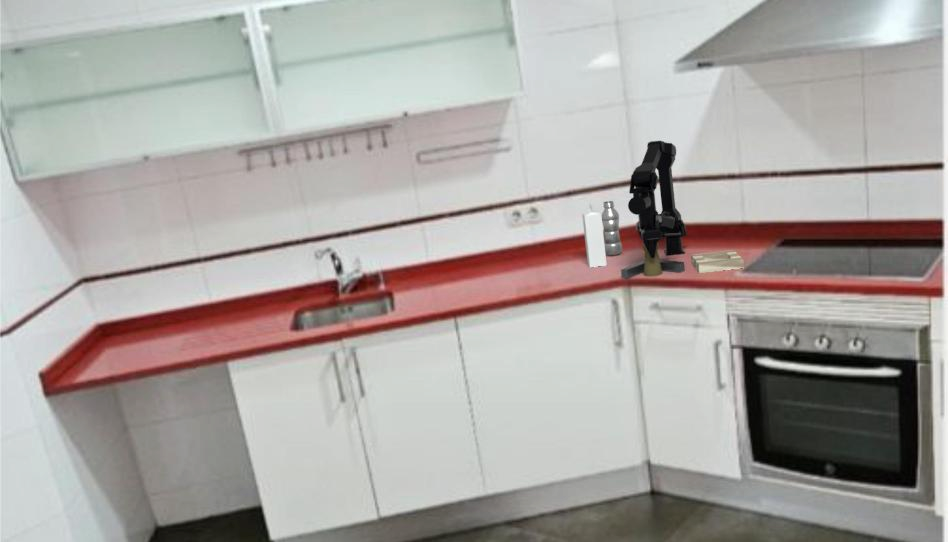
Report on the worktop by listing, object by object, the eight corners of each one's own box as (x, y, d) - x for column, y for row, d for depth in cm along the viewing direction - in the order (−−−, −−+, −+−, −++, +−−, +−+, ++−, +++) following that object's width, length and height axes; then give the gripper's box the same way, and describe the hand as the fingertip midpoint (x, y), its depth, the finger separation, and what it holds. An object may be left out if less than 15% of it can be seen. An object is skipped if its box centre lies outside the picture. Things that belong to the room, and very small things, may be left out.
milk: (590, 268, 287) (582, 207, 282) (587, 264, 293) (580, 204, 288) (607, 265, 287) (600, 204, 282) (604, 262, 293) (597, 202, 288)
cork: (661, 270, 270) (658, 238, 268) (663, 275, 265) (660, 242, 262) (642, 272, 271) (639, 240, 269) (644, 277, 265) (641, 244, 263)
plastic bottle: (609, 252, 306) (603, 200, 302) (625, 252, 302) (620, 200, 298) (601, 256, 301) (596, 204, 297) (618, 257, 297) (612, 203, 293)
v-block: (619, 270, 278) (618, 262, 277) (679, 263, 275) (679, 255, 275) (622, 279, 267) (621, 270, 266) (685, 272, 264) (684, 263, 264)
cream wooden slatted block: (691, 263, 274) (691, 254, 273) (734, 258, 272) (733, 249, 272) (699, 273, 260) (698, 264, 260) (744, 268, 259) (743, 259, 258)
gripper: (676, 210, 253) (680, 258, 256) (667, 200, 271) (671, 246, 274) (640, 214, 254) (645, 262, 258) (634, 204, 272) (638, 249, 276)
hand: (651, 254), depth 266 cm, fingers open, 9 cm apart
